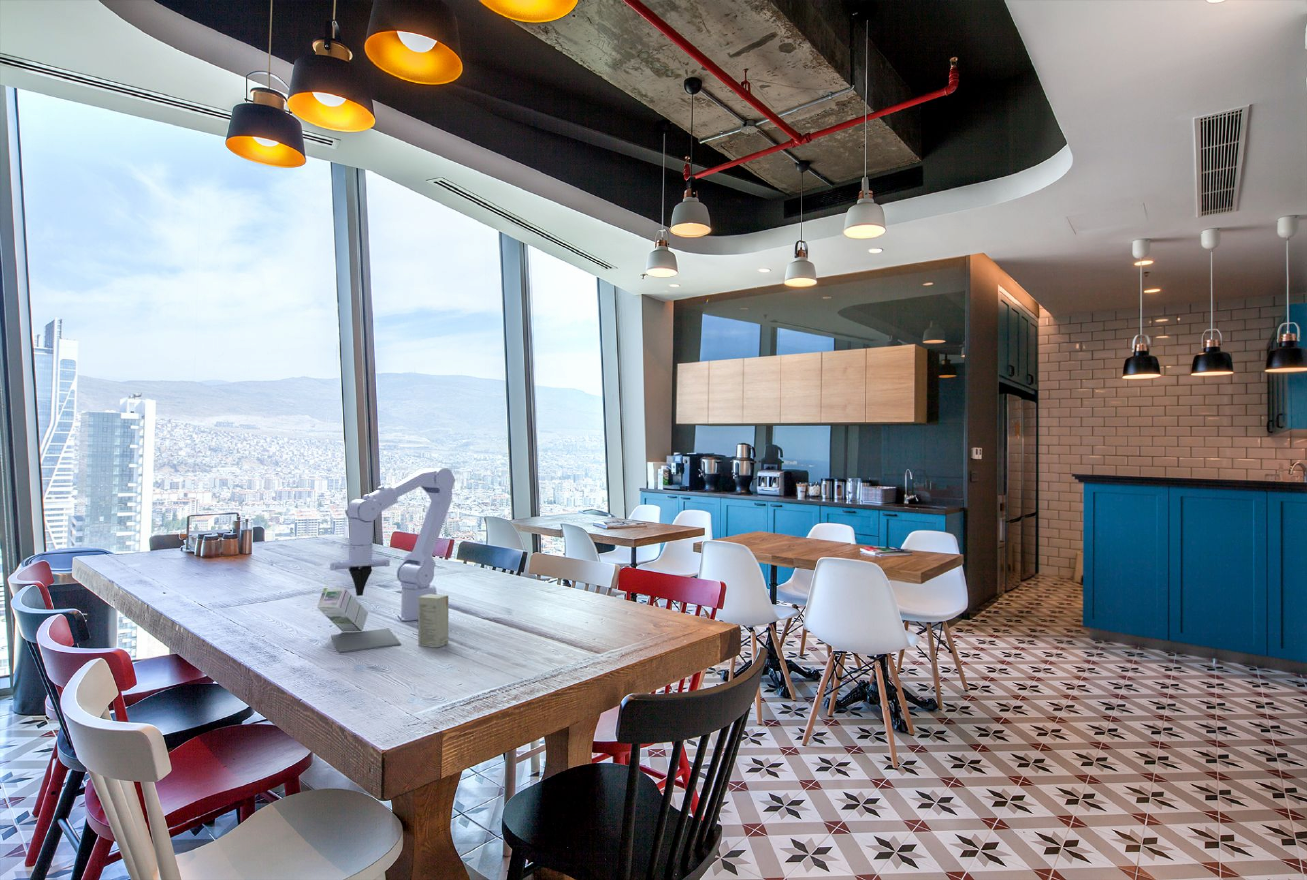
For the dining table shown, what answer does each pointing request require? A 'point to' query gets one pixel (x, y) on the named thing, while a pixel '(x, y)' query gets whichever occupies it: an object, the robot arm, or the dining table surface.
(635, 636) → the dining table surface
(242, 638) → the dining table surface
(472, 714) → the dining table surface
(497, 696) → the dining table surface
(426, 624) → the skincare box
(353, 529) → the robot arm
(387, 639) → the grey mat
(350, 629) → the syrup box
